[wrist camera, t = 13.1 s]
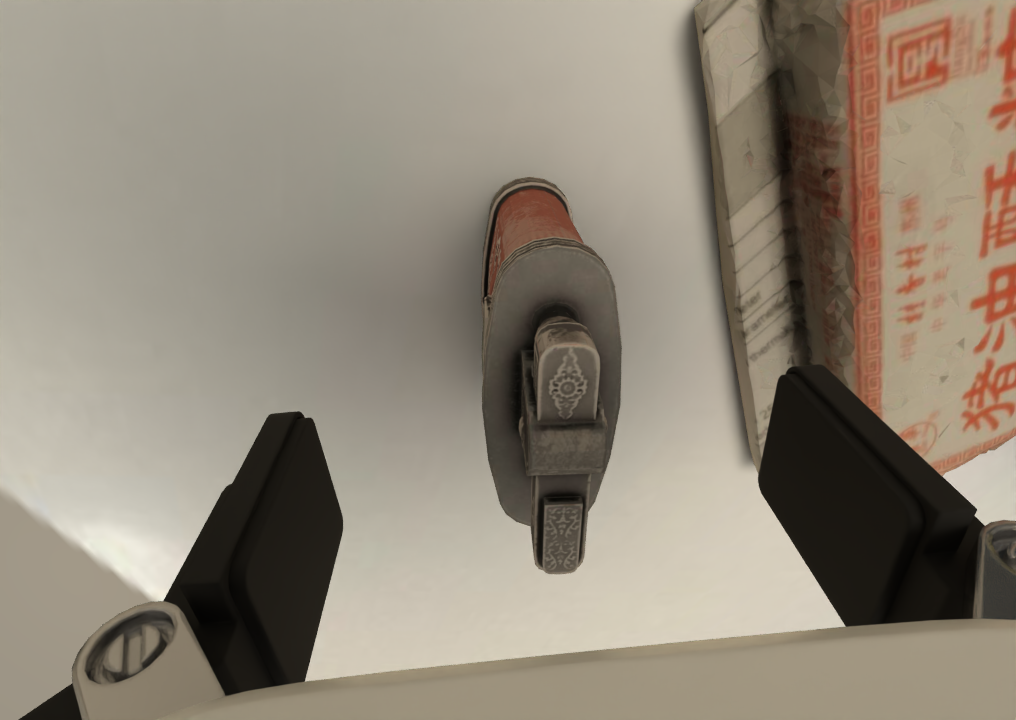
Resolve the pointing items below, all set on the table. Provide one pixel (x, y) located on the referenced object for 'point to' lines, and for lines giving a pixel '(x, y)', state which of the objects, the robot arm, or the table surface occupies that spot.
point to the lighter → (547, 368)
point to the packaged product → (870, 207)
